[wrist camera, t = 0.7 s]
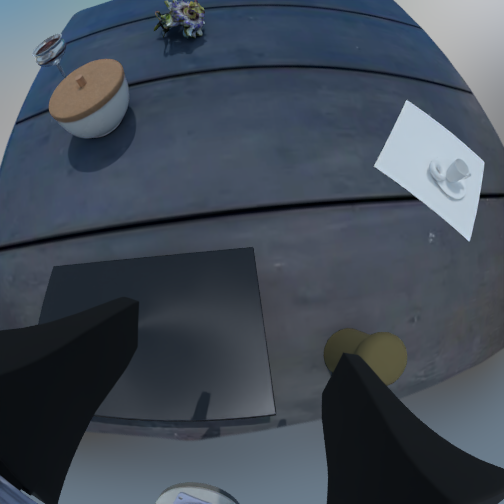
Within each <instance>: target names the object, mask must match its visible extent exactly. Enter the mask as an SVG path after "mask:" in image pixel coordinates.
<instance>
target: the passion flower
mask: <svg viewBox="0 0 504 504" xmlns="http://www.w3.org/2000/svg"><path fill="white" fill-rule="evenodd" d="M164 2H165V4H166V6H167V7H168V8H169V10H170V13H169V14H166V15H163V16H161V13H160V12H159V11H156V12H155V15H156V17H157V18H158V19H159V20H160V18H159V17H158V16H157V14H156V13H158V14H159V16H161V19H162V20H160V21H159V23H158V24H157V25H156V27H155V28H154V31H155V30H157V29H158V28H159V27H160V26H161V27H162V28H163V32H162V34H163V38H164V35H165V33H166V32H168V31H169V28H170V27H176V26H179V25H182V26H183V27H184V31H183V36H184V37H185V38H189V37H191V38H194V39H196V36H202V35H203V34H202V30H201V28H202V27H203V24H205V22H204V17H205V16H204V15H203V14H204V13H205V12H204V8H203V7H201V6H199V4H198V1H197V0H195V1H194V3H193V2H190V3H189V2H186V3H185V2H184V0H183V1H182V2H181V1H180V2H179V1H178V2H179V3H178V2H177V0H173V3H169V2H168V1H164ZM165 16H166V19H164V18H165ZM165 26H166V27H165ZM195 35H196V36H195Z"/></svg>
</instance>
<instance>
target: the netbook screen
mask: <svg viewBox="0 0 504 504" xmlns="http://www.w3.org/2000/svg"><path fill="white" fill-rule="evenodd" d="M124 296H125V297H128V298H131V299H134V300H137V301H139V318H138V347H137V349H136V351H135V353H134V355H133V357H132V359H131V361H130V363H129V365H128V367H127V368H126V370H125V371H124V373H123V374H122V376H121V377H120V378H119V380H118V381H117V383H116V384H115V385H114V387H113V388H112V390H111V391H110V392H109V394H108V395H107V397H106V398H105V399H104V401H103V402H102V404H101V405H100V406H99V408H98V409H97V411H96V412H95V414H94V416H99V417H108V418H118V419H130V420H146V421H217V420H234V419H246V418H256V417H265V416H274V415H276V409H275V401H274V394H273V387H272V379H271V372H270V365H269V358H268V350H267V343H266V336H265V328H264V321H263V314H262V307H261V299H260V292H259V285H258V278H257V271H256V263H255V256H254V249H253V247H249V248H239V249H228V250H217V251H207V252H196V253H186V254H175V255H165V256H155V257H144V258H134V259H124V260H114V261H104V262H94V263H84V264H74V265H64V266H54V267H53V270H52V274H51V277H50V280H49V284H48V287H47V291H46V294H45V298H44V302H43V306H42V310H41V314H40V318H39V323H38V325H40V324H44V323H48V322H51V321H55V320H58V319H61V318H64V317H67V316H70V315H73V314H76V313H79V312H82V311H85V310H87V309H90V308H93V307H95V306H98V305H101V304H103V303H106V302H109V301H111V300H114V299H117V298H120V297H124Z"/></svg>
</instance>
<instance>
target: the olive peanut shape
mask: <svg viewBox="0 0 504 504" xmlns="http://www.w3.org/2000/svg"><path fill="white" fill-rule="evenodd" d="M343 352H344V353H349V354H355V355H359V356H360V357H361V358H362V359H363V360H364V361H365V362H366V363H367V364H368V365H369V366H370V367H371V369H372V370H373V371H374V372H375V373H376V374H377V375H378V377H379V378H380V379H381V380H382V381H383V382H384V383H385V385H386V386H388V385H390V384H392V383H394V382H395V381H396V380H397V379H398V378H399V377H400V376H401V374H402V373H403V372H404V369H405V367H406V364H407V352H406V347H405V345H404V343H403V341H401V340H400V339H399V338H398V337H397V336H396V335H393V334H391V333H389V332H377V333H374V334H371V335H369V334H366V333H363V332H361V331H358V330H355V329H348V328H346V329H342V330H339V331H338V332H336V333H334V334H333V335H332V336H331V337H330V339H329V340H328V341H327V344H326V346H325V349H324V360H325V364H326V366H327V367H328V369H329V370H330V371H331V372H332V373H333V372H334V370H335V368H336V366H337V364H338V362H339V360H340V358H341V356H342V354H343Z"/></svg>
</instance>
